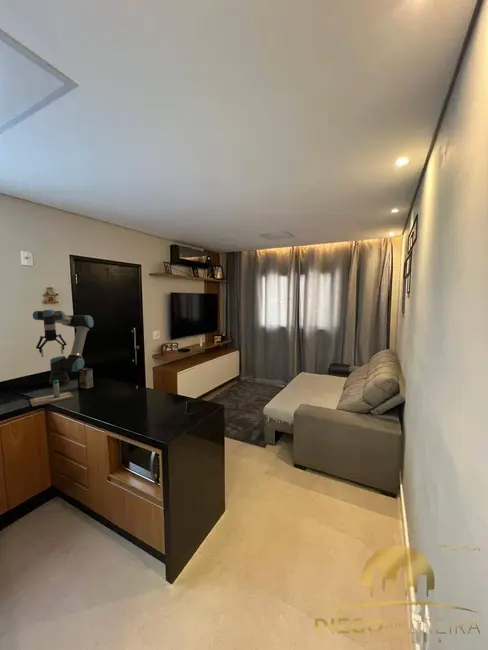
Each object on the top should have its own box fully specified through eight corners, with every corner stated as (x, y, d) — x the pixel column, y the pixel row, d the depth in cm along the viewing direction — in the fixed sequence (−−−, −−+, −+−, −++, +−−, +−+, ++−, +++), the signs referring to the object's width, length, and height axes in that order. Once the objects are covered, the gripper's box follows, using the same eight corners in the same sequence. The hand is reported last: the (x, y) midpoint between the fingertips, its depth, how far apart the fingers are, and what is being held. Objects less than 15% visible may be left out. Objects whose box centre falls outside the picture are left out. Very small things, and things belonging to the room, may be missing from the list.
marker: (53, 396, 219) (52, 380, 217) (59, 395, 221) (58, 379, 220) (54, 398, 216) (53, 381, 214) (60, 397, 218) (59, 380, 217)
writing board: (29, 400, 215) (29, 398, 215) (69, 392, 232) (69, 391, 232) (32, 406, 203) (32, 405, 203) (73, 398, 220) (73, 396, 220)
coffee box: (79, 387, 245) (78, 369, 243) (86, 385, 251) (85, 367, 249) (87, 388, 241) (86, 370, 239) (93, 386, 247) (92, 368, 245)
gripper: (31, 331, 214) (34, 359, 217) (69, 328, 231) (71, 353, 234) (29, 330, 219) (32, 357, 223) (67, 327, 237) (69, 351, 240)
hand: (52, 355), depth 229 cm, fingers open, 13 cm apart
